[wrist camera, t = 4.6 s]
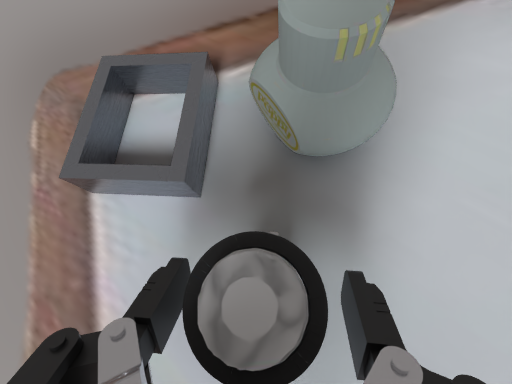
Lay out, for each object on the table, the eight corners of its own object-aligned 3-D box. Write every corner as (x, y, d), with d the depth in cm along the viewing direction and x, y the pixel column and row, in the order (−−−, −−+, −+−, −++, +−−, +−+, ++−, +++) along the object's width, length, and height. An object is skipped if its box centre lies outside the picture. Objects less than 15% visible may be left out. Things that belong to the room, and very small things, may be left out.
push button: (241, 230, 19) (199, 185, 10) (311, 240, 18) (338, 200, 9) (225, 326, 17) (152, 384, 8) (303, 341, 16) (327, 427, 7)
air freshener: (243, 95, 23) (216, -27, 14) (316, 54, 24) (336, -88, 15) (311, 186, 20) (335, 102, 10) (394, 134, 20) (488, 12, 11)
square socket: (218, 82, 24) (207, 51, 21) (200, 197, 20) (184, 181, 17) (125, 84, 26) (102, 56, 22) (92, 193, 22) (58, 177, 18)
